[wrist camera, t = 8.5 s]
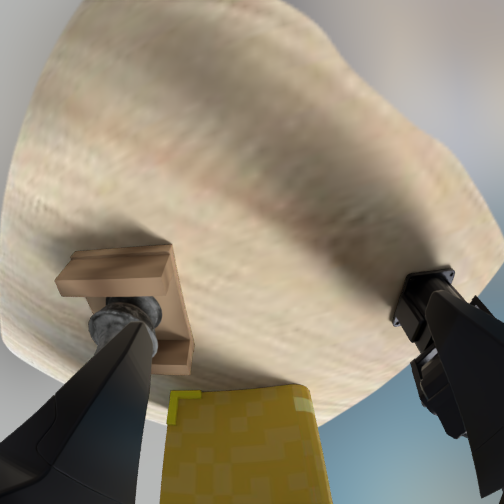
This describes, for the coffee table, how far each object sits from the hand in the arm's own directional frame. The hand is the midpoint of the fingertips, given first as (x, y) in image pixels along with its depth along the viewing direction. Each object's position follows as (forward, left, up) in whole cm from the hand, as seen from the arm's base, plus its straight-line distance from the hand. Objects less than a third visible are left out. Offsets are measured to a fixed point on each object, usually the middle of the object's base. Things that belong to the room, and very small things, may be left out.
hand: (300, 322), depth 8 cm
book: (+3, +26, -13) cm, 30 cm away
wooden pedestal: (+11, +9, -13) cm, 20 cm away
